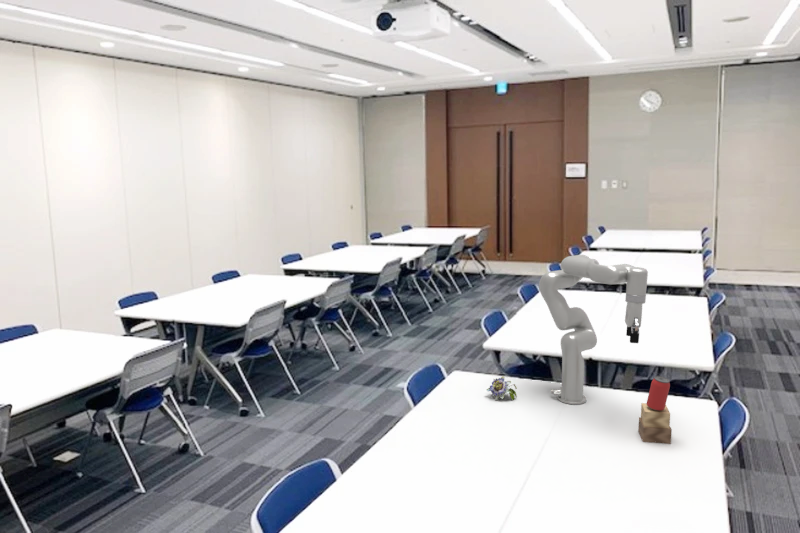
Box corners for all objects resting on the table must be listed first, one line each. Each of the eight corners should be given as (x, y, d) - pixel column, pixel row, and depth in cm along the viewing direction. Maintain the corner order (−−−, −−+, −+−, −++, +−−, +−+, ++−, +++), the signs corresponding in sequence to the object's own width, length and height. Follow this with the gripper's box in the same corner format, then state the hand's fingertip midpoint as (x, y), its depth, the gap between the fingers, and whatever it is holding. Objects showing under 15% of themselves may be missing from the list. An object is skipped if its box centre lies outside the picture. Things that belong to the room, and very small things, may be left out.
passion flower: (496, 411, 284) (481, 389, 284) (505, 399, 293) (490, 378, 293) (515, 402, 277) (500, 380, 278) (523, 390, 286) (508, 369, 286)
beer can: (660, 404, 243) (667, 376, 240) (666, 412, 237) (673, 383, 233) (643, 402, 243) (650, 374, 240) (649, 410, 237) (656, 381, 234)
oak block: (644, 426, 238) (644, 411, 237) (640, 417, 247) (641, 403, 246) (669, 428, 236) (670, 413, 235) (665, 419, 245) (665, 404, 244)
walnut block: (642, 442, 238) (643, 427, 237) (638, 431, 248) (638, 417, 247) (670, 444, 236) (671, 429, 235) (664, 433, 246) (665, 419, 245)
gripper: (622, 293, 259) (619, 332, 262) (628, 302, 242) (625, 344, 245) (641, 294, 257) (638, 334, 260) (649, 303, 240) (645, 346, 243)
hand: (632, 339), depth 253 cm, fingers open, 9 cm apart
